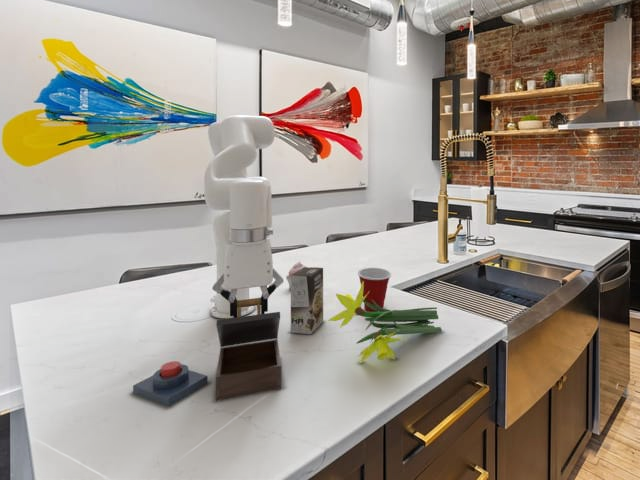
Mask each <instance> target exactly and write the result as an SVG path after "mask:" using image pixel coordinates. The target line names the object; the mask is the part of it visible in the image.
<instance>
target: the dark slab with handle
mask: <svg viewBox="0 0 640 480" xmlns="http://www.w3.org/2000/svg"><path fill="white" fill-rule="evenodd" d="M249 306H256V314H252V315H251V314H250V315H244V316H241V307H249ZM237 308H238V315H237V317H235V318H219V319H217V320H216V323H215V325H216V330H217V336H218V342H219V346H220V348H221V347H227V346H234V345H240V344H247V343H254V342H260V341H267V340H273V339H277V340H278V338H279V337H278V336H279V331H280V330H279V329H280V321H281V311H276V312H275V311H274V312H265V314H261V297H253V298H249V299H244V300H237Z"/></svg>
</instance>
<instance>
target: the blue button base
mask: <svg viewBox="0 0 640 480" xmlns="http://www.w3.org/2000/svg"><path fill="white" fill-rule="evenodd" d="M208 383H209V382H208V375H206V374H203V373H199V372H197V371H194V370H191V369H189V366H188V365H186V364H184V363H183V364H182V363H181V372H180V373H179V374H177V375H175V376H172V377H166V378H163V377H161V368H160V369H158V370H156V371H155V372H154V373H153V374H152V375H151V376H149V377H147V378H145V379H143V380H141V381H139V382H137V383H134V384H133V385H132V393H133V394H135V395H136V396H139V397H142V398H145V399H147V400H150V401H152V402H155V403H158V404H160V405H163V406H165V407H170V406H172V405H174V404H175V403H177V402H179V401H180V400H182V399H184V398H185V397H187V396H189V395H190V394H192V393H194V392H196V391H197V390H199V389H201V388H202V387H204V386H206V385H207V384H208Z"/></svg>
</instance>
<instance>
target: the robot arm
mask: <svg viewBox="0 0 640 480" xmlns="http://www.w3.org/2000/svg"><path fill="white" fill-rule="evenodd" d="M207 135H208V141H209V145H210V148H211V150H212V153H213V155H214V157H213V158H212V159H211V160H210V161H209V162H208V165H207V166H206V169H205V170H204V176H203V177H204V178H203V179H204V180H203V183H204V184H203V185H204V188H203V189H204V201H205V204H206V206H207V208H209V209H210V210H213V211H223V212H221V213H218V214H217V215H216V216H215V217H214V219H213V223H212V228H213V234H214V240H215V242H214V243H215V251H216V252H215V253H216V281H215V282H214V284H213V285H212V287H211V288H212V291H214V292H215V294H213V297H211V298H210V299H209V301H210V302H211V303H214V307H213V308H212V309H211V316H212V317H214V318H217V319H228V318H235V317H237V315H238V308H237V300H244V299H250V289H251V288H260V291H261V296H260V298H261V305H260V308H261V314H266V313H269V298H270V296H271V295H272V294H273V293H275V291H276V289H277V288H279V287H280V286H281V285H282V284H284V278H283V277H282V276H281V274H280V273H279V272H278V271H277V270H276V269H275V268H274V267H273V263H274V262H273V251H272V243H271V240H270V239H269V237H271V236H272V235H274V228H273V202H272V199H273V198H272V187H271V186H272V185H271V182H270V181H269V179H268V178H267V177H265V176H258V175H257V176H249V175H247V168H248V167H250V166H251V165H253V164H254V163H255V161H256V159H257V157H258V156H257V154H258V153H257V152H258V151H257V150H264V149H266V148H268V147H270V146H271V145H272V144H273V143H274V140H275V138H276V137H275V136H276V129H275V125H274V123H273V121H272V119H270V118H269V117H267V116H264V115H244V114H235V115H233V114H232V115H229V116H226V117H225V118H224V119H223V120H219V121H214V122H212V123H211V124H210V125H209V126H208V130H207ZM273 279H274V280H273ZM267 286H268V287H267ZM255 308H256V307H255V306H249V307H241V317H243V316H247V315H249V314H251V313H252V312H253V311H254V310H255Z"/></svg>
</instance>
